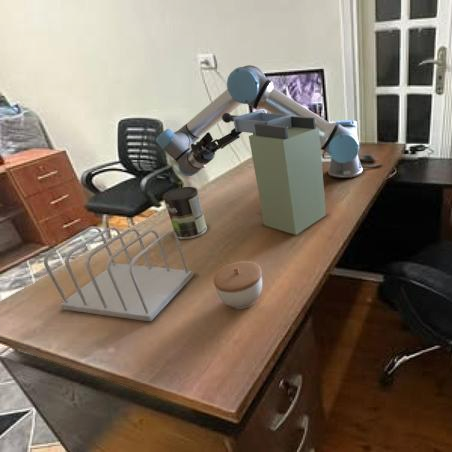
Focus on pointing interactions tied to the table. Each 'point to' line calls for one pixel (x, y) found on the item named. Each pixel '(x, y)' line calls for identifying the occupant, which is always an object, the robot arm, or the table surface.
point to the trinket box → (239, 284)
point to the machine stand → (289, 174)
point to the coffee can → (185, 212)
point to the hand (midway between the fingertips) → (226, 131)
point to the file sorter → (124, 281)
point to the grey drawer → (257, 120)
